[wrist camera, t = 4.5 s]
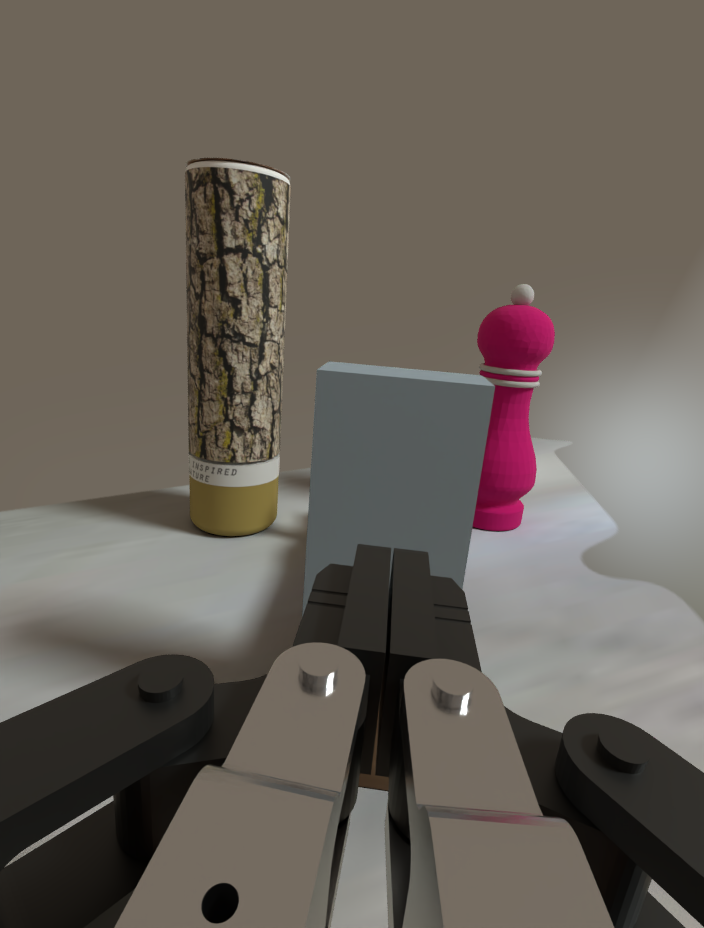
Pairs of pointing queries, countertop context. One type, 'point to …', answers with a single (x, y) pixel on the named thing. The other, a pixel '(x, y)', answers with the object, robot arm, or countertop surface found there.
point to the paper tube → (235, 340)
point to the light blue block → (395, 465)
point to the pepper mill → (510, 406)
